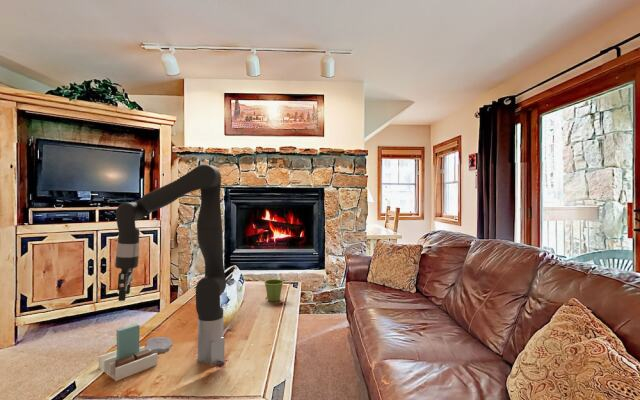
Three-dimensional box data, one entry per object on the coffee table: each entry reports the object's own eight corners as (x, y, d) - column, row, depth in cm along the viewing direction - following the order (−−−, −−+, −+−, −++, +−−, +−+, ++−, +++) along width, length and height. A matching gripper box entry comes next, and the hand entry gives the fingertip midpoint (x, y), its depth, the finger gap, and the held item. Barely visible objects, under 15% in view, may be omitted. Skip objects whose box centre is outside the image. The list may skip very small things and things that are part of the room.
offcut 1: (134, 371, 120) (134, 357, 120) (119, 377, 116) (119, 362, 116) (130, 368, 122) (130, 354, 121) (115, 374, 118) (115, 360, 117)
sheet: (139, 362, 126) (139, 325, 126) (118, 370, 120) (119, 331, 120) (136, 361, 127) (136, 323, 127) (116, 368, 122) (116, 329, 121)
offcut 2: (151, 364, 125) (151, 351, 125) (137, 370, 121) (137, 356, 120) (147, 362, 126) (147, 348, 126) (133, 367, 122) (133, 353, 122)
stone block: (171, 347, 146) (145, 346, 143) (173, 336, 146) (148, 335, 143) (169, 361, 135) (141, 360, 132) (172, 349, 135) (144, 348, 132)
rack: (157, 368, 125) (157, 353, 125) (116, 385, 114) (116, 368, 114) (138, 356, 134) (138, 343, 133) (98, 371, 122) (98, 356, 122)
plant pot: (260, 301, 204) (260, 283, 203) (269, 296, 215) (269, 278, 215) (278, 304, 200) (279, 284, 200) (286, 298, 212) (286, 280, 211)
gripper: (135, 258, 124) (131, 302, 124) (141, 251, 137) (138, 291, 138) (111, 258, 121) (108, 303, 122) (120, 251, 135) (117, 291, 135)
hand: (124, 297), depth 130 cm, fingers open, 8 cm apart
